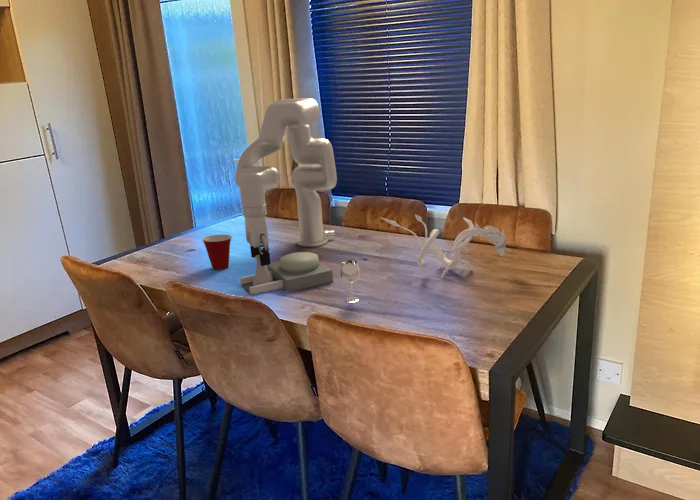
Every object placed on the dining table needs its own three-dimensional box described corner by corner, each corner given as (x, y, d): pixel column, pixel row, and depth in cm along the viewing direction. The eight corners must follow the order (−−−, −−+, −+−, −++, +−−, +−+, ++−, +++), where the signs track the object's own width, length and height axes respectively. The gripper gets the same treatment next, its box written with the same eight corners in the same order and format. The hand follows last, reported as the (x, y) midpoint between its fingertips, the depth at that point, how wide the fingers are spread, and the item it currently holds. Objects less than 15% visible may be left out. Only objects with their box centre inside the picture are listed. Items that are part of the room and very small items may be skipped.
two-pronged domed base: (309, 265, 209) (308, 246, 207) (333, 281, 192) (331, 261, 190) (237, 281, 198) (234, 261, 196) (254, 299, 181) (252, 278, 179)
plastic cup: (241, 263, 216) (237, 232, 213) (226, 273, 207) (222, 241, 203) (216, 262, 220) (211, 231, 216) (200, 271, 210) (195, 240, 207)
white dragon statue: (367, 271, 195) (370, 205, 182) (390, 244, 211) (394, 181, 198) (494, 307, 179) (507, 237, 166) (509, 275, 195) (522, 208, 182)
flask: (277, 280, 195) (274, 252, 192) (270, 288, 188) (266, 259, 185) (256, 280, 196) (253, 252, 193) (249, 288, 189) (245, 259, 186)
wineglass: (341, 297, 178) (339, 260, 175) (360, 295, 179) (358, 258, 175) (343, 304, 173) (340, 266, 169) (362, 302, 173) (360, 264, 169)
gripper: (235, 207, 190) (242, 256, 196) (251, 218, 175) (258, 270, 181) (257, 203, 193) (263, 251, 199) (274, 213, 178) (280, 265, 184)
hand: (260, 260), depth 190 cm, fingers open, 9 cm apart
